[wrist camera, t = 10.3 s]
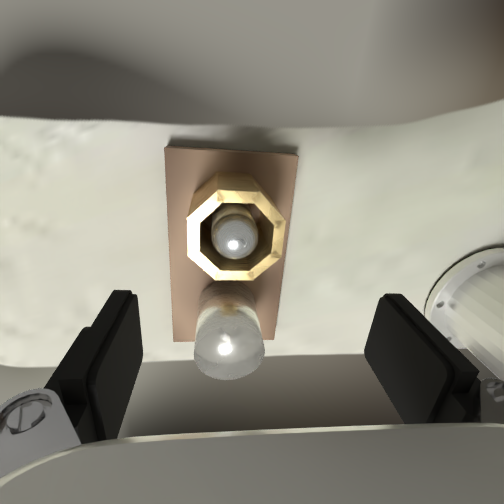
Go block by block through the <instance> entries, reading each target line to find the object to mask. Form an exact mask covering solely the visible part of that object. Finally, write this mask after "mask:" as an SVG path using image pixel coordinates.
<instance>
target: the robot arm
mask: <svg viewBox="0 0 504 504" xmlns="http://www.w3.org/2000/svg"><path fill="white" fill-rule="evenodd" d="M457 348H467V349H468V350H469V351H470V352H471V353H473V354H474V355H475V356H476V357H477V358H478V359H479V360H480V361H481V362H482V363H483V364H484V365H485V366H486V367H488V368H489V369H490V370H491V371H492V372H493V373H494V374H495V375H496V376H497V377H498V378H499V379H495V378H486V379H484V380H482V381H480V380H479V379H478V378H477V375H478V373H479V370H478V369H477V368H476V367H475V366H474V365H473V364H472V363H471V362H470V361H469V360H468V359H467V358H466V357H465V356H464V355H463V354H462V353H461V352H460V351H459V350H458V349H457ZM364 354H365V358H366V359H367V361H368V363H369V365H370V366H371V368H372V370H373V371H374V373H375V375H376V376H377V378H378V380H379V381H380V383H381V385H382V386H383V388H384V390H385V392H386V393H387V395H388V397H389V398H390V400H391V402H392V403H393V405H394V407H395V408H396V410H397V412H398V413H399V415H400V417H401V419H402V420H403V422H404V423H405V424H399V425H373V426H372V425H371V426H344V427H319V428H298V429H297V428H295V429H274V430H273V429H272V430H251V431H231V432H230V431H229V432H209V433H190V434H189V433H188V434H172V435H157V436H141V437H129V438H121V439H117V436H118V433H119V430H120V427H121V424H122V421H123V418H124V415H125V412H126V408H127V406H128V403H129V400H130V396H131V393H132V390H133V387H134V384H135V381H136V378H137V375H138V372H139V368H140V366H141V363H142V358H143V347H142V337H141V327H140V317H139V307H138V298H137V295H136V294H132V292H131V290H114V291H113V292H112V293H111V295H110V297H109V298H108V300H107V301H106V303H105V305H104V306H103V308H102V309H101V311H100V313H99V314H98V316H97V318H96V319H95V321H94V322H93V324H92V326H91V327H85V328H83V329H82V331H81V332H80V333H79V335H78V336H77V338H76V340H75V341H74V343H73V344H72V346H71V347H70V349H69V350H68V352H67V353H66V355H65V356H64V358H63V359H62V361H61V362H60V364H59V366H58V367H57V369H56V370H55V372H54V373H53V375H52V377H51V378H50V379H49V381H48V383H47V384H46V386H45V387H44V389H42V388H38V389H33V390H28V391H25V392H23V393H20V394H18V395H16V396H14V397H12V398H10V399H9V400H7V401H6V402H5V403H3V404H2V405H1V406H0V504H504V248H494V249H488V250H485V251H482V252H479V253H476V254H474V255H472V256H470V257H468V258H466V259H464V260H462V261H461V262H460V263H458V264H457V265H455V266H454V267H453V268H451V269H450V270H449V271H448V272H447V273H446V274H445V275H444V276H443V277H442V278H441V279H440V280H439V282H438V283H437V284H436V286H435V287H434V289H433V290H432V292H431V294H430V296H429V299H428V301H427V304H426V309H425V317H424V316H423V315H422V314H421V313H420V312H419V311H418V310H417V309H416V308H415V307H414V306H413V305H412V304H411V303H410V302H409V301H408V300H407V299H406V298H405V297H404V296H403V295H402V294H385V295H384V296H383V297H381V298H380V299H379V302H378V305H377V308H376V312H375V315H374V319H373V322H372V325H371V329H370V332H369V335H368V339H367V342H366V346H365V349H364Z"/></svg>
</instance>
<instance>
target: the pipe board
mask: <svg viewBox="0 0 504 504" xmlns="http://www.w3.org/2000/svg"><path fill="white" fill-rule="evenodd" d="M164 152H165V173H166V195H167V216H168V237H169V258H170V279H171V300H172V321H173V342H191V341H195V337H196V325H197V313H198V301H199V297H200V294H201V293H202V291H203V290H204V289H205V288H206V287H207V286H208V285H209V284H211V283H213V282H215V281H218V280H215V279H214V278H213V277H212V276H210V275H209V274H208V273H207V272H206V271H205V270H204V269H203V268H201V267H200V266H199V265H198V264H197V263H196V262H195V261H193V260H192V259H191V258H190V257H188V220H187V216H188V212H189V208H190V204H191V201H192V197H193V194H194V193H195V192H196V191H197V190H198V189H199V188H200V187H201V186H202V185H203V184H204V183H205V182H206V181H208V180H209V179H210V178H211V177H212V176H213V175H214V174H215V173H216V172H217V171H218V172H234V173H250V174H251V176H252V177H253V178H254V179H255V180H256V181H257V183H258V184H259V185H260V186H261V187H262V188H263V190H264V191H265V192H266V193H267V194H268V195H269V196H270V197H271V199H272V200H273V202H274V203H275V205H276V206H277V208H278V209H279V211H280V212H281V214H282V215H283V217H284V218H285V220H286V224H285V232H284V240H283V247H282V255H281V256H282V257H281V258H280V259H279V260H277V261H276V262H275V263H274V264H272V265H271V266H270V267H269V268H267V269H266V270H265V271H264V272H262V273H261V274H260V275H259V276H257V277H256V278H255V279H254V280H253V281H252V280H237V281H240V282H242V283H243V284H245V285H246V286H247V287H248V288H249V289H250V290H251V292H252V294H253V296H254V301H255V306H256V310H257V315H258V320H259V324H260V329H261V334H262V338H263V340H274V336H275V328H276V321H277V313H278V306H279V298H280V291H281V284H282V276H283V269H284V261H285V254H286V246H287V239H288V231H289V224H290V216H291V209H292V202H293V194H294V187H295V179H296V172H297V164H298V157H299V156H297V155H295V154H288V153H273V152H257V151H242V150H227V149H211V148H196V147H181V146H166V147H165V148H164ZM248 205H249V207H250V210H251V213H252V216H253V218H254V221H255V224H257V223H259V214H260V209H259V208H258V207H257V206H256V205H255V204H253V203H248ZM203 221H204V222H205V223H206V224H207V225H208V226H209V227H210V228H211V229H212V212H211V213H210V214H209V215H208V216H207V217H206V218H205V219H203Z"/></svg>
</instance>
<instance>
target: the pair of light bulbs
mask: <svg viewBox="0 0 504 504" xmlns="http://www.w3.org/2000/svg"><path fill="white" fill-rule="evenodd" d="M211 236H212V243H213V245H214V247H215V249H216V250H217V251H218V253H220V254H221V255H222V256H224V257H226V258H229V259H241V258H244V257H246V256H248V255H249V254H251V253H252V252H253V250H254V249H255V247H256V245H257V242H258V229H257V226H256V224H255V221H254V218H253V216H252V213H251V210H250V207H249V205H248V203H229V202H222V203H221V204H220V205H219V206H218V207H217V208H216V209H215V210H213V211H212V234H211ZM264 353H265V349H264V343H263V338H262V334H261V329H260V324H259V320H258V315H257V310H256V306H255V301H254V296H253V294H252V292H251V290H250V289H249V288H248V287H247V286H246V285H245V284H243V283H242V282H240V281H237V280H218V281H215V282H213V283H211V284H209V285H208V286H207V287H206V288H205V289H204V290H203V291H202V293H201V294H200V297H199V301H198V313H197V325H196V337H195V349H194V359H195V362H196V365H197V366H198V368H199V369H200V370H201V371H202V372H203V373H205V374H206V375H208V376H210V377H213V378H216V379H222V380H232V379H238V378H241V377H244V376H246V375H248V374H250V373H251V372H253V371H254V370H255V369H256V368H257V367H258V366H259V365H260V363H261V362H262V360H263V358H264Z"/></svg>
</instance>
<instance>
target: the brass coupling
mask: <svg viewBox="0 0 504 504" xmlns="http://www.w3.org/2000/svg"><path fill="white" fill-rule="evenodd" d="M222 202H229V203H253V204H255V205H256V206H257V207H258V208H259V209H260V214H259V223H257V224H256V226H257V229H258V242H257V245H256V247H255V249H254V250H253V252H252V253H251V254H249V255H248V256H246V257H244V258H241V259H229V258H226V257H224V256H222V255H221V254H220V253H218V251H217V250H216V249H215V247H214V245H213V243H212V236H211V234H212V229H211V228H210V227H209V226H208V225H207V224H206V223H205V222H204V221H203V219H205V218H206V217H207V216H208V215H209V214H210V213H211V212H212V211H213V210H215V209H216V208H217V207H218V206H219V205H220V204H221V203H222ZM187 220H188V257H190V258H191V259H192V260H193V261H195V262H196V263H197V264H198V265H199V266H200V267H201V268H203V269H204V270H205V271H206V272H207V273H208V274H209V275H210V276H212V277H213V278H214V279H215V280H252V281H253V280H254V279H255V278H256V277H257V276H259V275H260V274H261V273H262V272H264V271H265V270H266V269H267V268H269V267H270V266H271V265H272V264H274V263H275V262H276V261H277V260H279V259H280V258H281V257H282V256H281V255H282V247H283V240H284V232H285V224H286V220H285V218H284V217H283V215H282V214H281V212H280V211H279V209H278V208H277V206H276V205H275V203H274V202H273V200H272V199H271V197H270V196H269V195H268V194H267V193H266V192H265V191H264V190H263V188H262V187H261V186H260V185H259V184H258V183H257V181H256V180H255V179H254V178H253V177H252V176H251V174H250V173H234V172H218V171H217V172H216V173H215V174H214V175H213V176H212V177H211V178H210V179H209V180H208V181H206V182H205V183H204V184H203V185H202V186H201V187H200V188H199V189H198V190H197V191H196V192H195V193H194V194H193V197H192V201H191V204H190V208H189V212H188V216H187Z"/></svg>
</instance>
